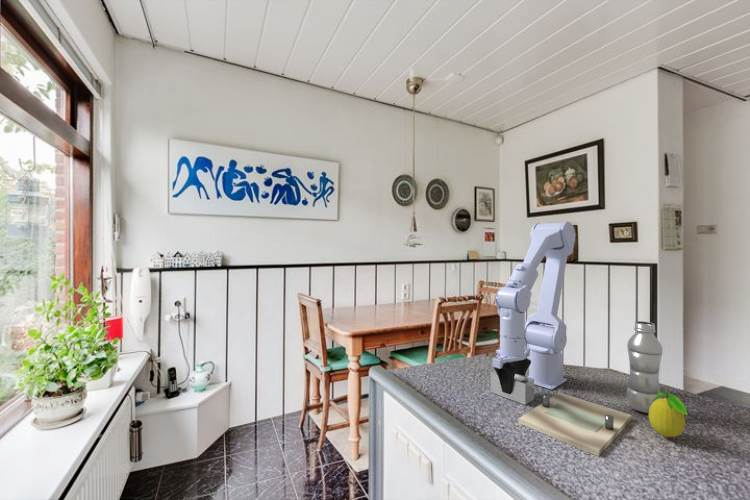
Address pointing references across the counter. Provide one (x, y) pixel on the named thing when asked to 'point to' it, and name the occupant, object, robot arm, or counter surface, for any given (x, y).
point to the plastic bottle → (643, 367)
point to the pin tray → (576, 422)
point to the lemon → (667, 415)
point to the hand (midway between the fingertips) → (511, 389)
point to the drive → (515, 388)
